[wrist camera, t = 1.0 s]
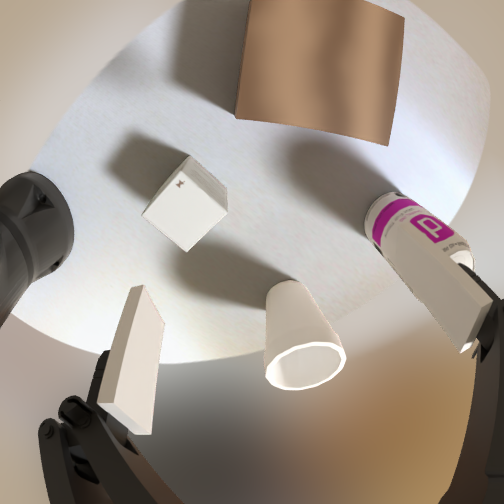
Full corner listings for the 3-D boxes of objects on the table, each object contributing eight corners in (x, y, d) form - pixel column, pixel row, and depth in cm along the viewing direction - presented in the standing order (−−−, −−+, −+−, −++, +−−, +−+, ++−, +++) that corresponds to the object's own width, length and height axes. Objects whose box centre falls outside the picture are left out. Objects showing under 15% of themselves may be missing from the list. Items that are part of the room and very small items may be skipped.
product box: (156, 191, 31) (138, 215, 25) (190, 153, 29) (179, 168, 23) (193, 223, 34) (186, 254, 27) (229, 189, 32) (229, 213, 26)
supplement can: (356, 202, 34) (421, 266, 21) (407, 182, 33) (482, 232, 20) (367, 252, 38) (419, 323, 25) (413, 231, 37) (474, 291, 24)
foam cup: (312, 319, 43) (334, 385, 32) (254, 322, 43) (263, 393, 31) (322, 269, 39) (355, 336, 27) (256, 271, 38) (269, 345, 27)
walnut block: (234, 115, 27) (236, 118, 21) (249, 2, 21) (256, -26, 14) (353, 134, 29) (387, 146, 22) (368, 30, 22) (404, 17, 15)
